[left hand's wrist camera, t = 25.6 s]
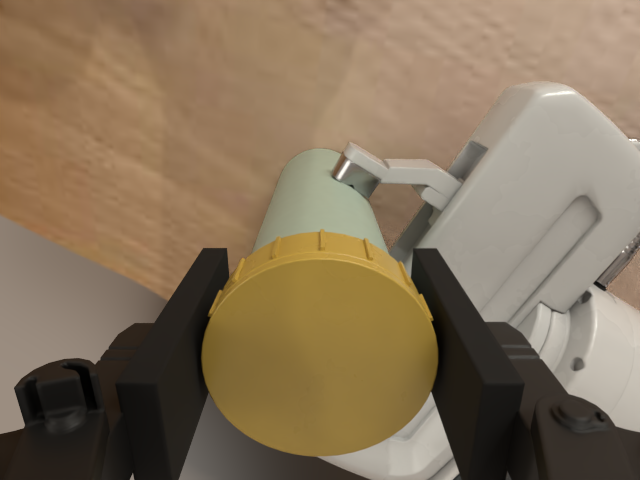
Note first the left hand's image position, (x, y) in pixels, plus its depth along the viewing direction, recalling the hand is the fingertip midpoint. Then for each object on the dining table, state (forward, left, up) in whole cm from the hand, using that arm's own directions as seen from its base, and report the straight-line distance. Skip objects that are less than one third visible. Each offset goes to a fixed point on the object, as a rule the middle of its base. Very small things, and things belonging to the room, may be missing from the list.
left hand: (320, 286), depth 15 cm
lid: (0, 0, +4) cm, 4 cm away
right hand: (-1, 0, -6) cm, 6 cm away
